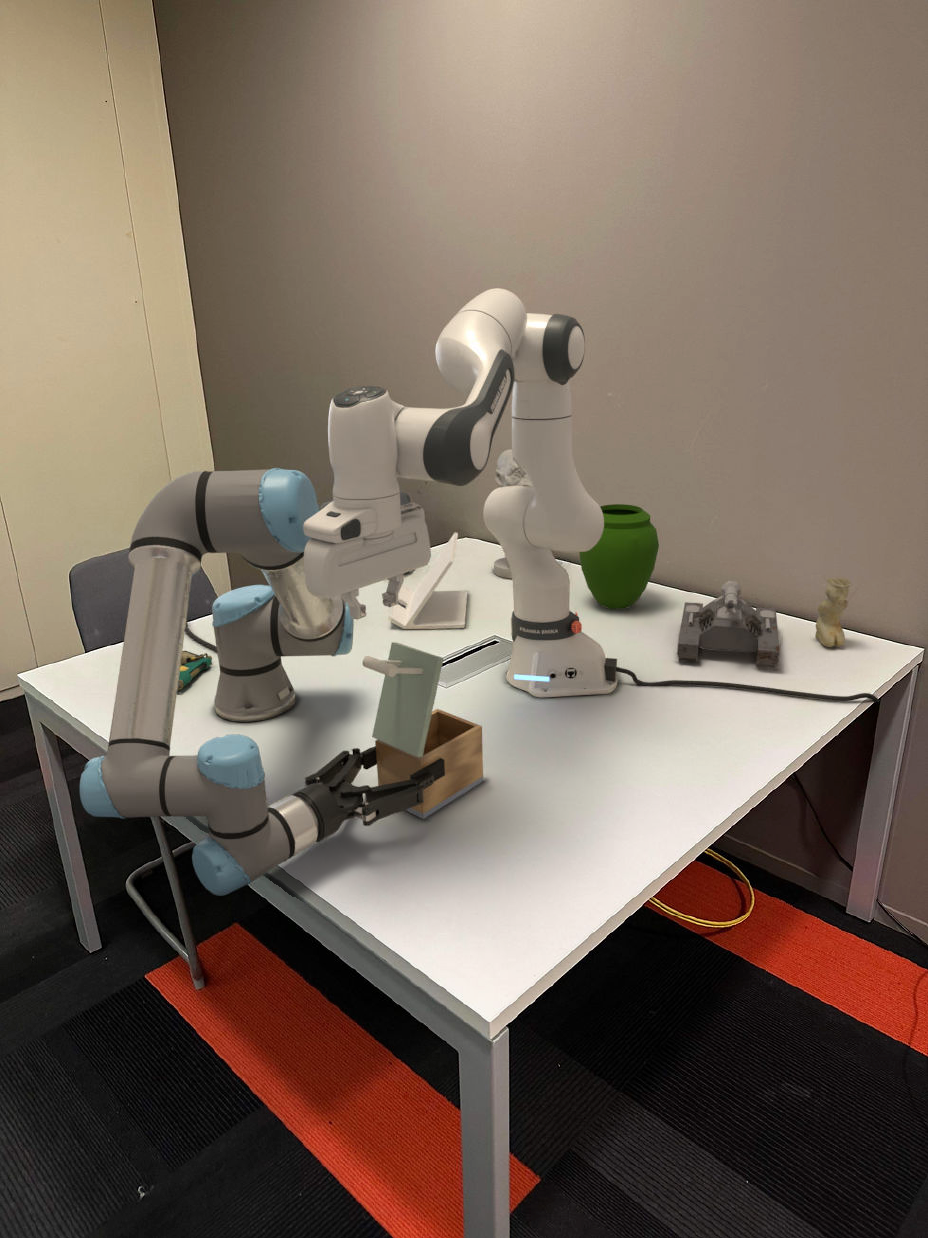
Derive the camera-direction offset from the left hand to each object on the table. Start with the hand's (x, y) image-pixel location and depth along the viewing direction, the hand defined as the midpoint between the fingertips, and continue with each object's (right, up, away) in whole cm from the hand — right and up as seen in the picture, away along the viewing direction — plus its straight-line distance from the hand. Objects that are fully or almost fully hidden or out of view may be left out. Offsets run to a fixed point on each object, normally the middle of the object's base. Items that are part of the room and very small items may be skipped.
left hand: (418, 755), depth 132 cm
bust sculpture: (+24, +33, +107) cm, 114 cm away
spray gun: (-54, +9, +49) cm, 73 cm away
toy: (+65, +15, +55) cm, 87 cm away
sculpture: (+87, +16, +55) cm, 104 cm away
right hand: (-5, +22, -14) cm, 27 cm away
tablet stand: (-1, +23, +82) cm, 85 cm away
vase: (+45, +25, +82) cm, 97 cm away
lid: (-1, +9, -4) cm, 10 cm away
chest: (+2, -6, +4) cm, 8 cm away
